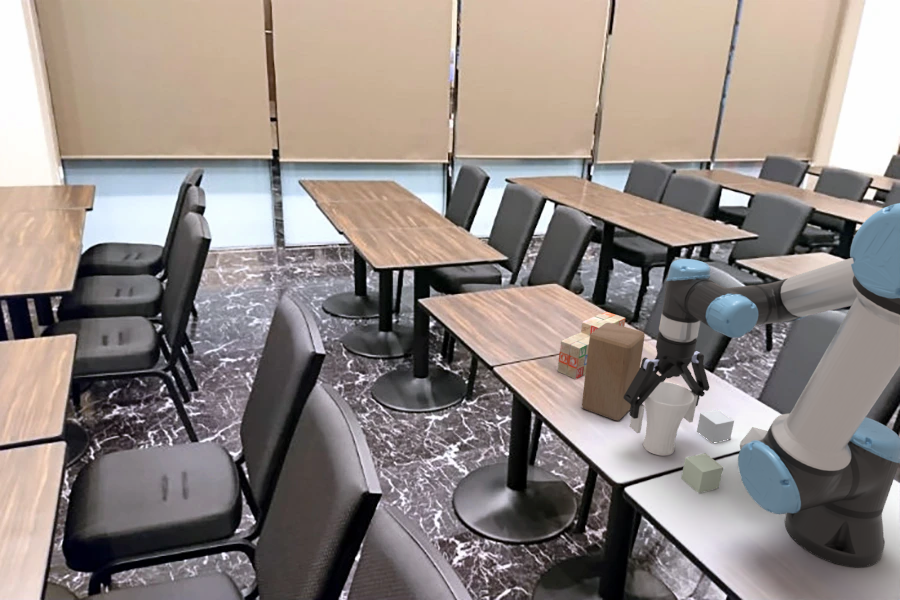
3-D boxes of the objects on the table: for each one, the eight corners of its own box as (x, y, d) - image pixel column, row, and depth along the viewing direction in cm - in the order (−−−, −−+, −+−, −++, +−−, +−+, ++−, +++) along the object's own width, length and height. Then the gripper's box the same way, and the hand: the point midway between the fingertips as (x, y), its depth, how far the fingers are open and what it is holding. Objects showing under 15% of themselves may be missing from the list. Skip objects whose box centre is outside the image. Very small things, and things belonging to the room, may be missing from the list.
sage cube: (718, 488, 125) (723, 467, 123) (698, 493, 123) (702, 472, 121) (701, 473, 129) (705, 453, 128) (681, 478, 128) (685, 457, 126)
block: (618, 423, 146) (630, 345, 139) (579, 409, 152) (588, 333, 145) (635, 406, 154) (646, 331, 147) (597, 393, 159) (606, 320, 152)
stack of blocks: (576, 380, 166) (580, 337, 162) (556, 372, 170) (561, 330, 166) (620, 357, 180) (626, 317, 175) (601, 349, 184) (606, 310, 180)
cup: (656, 466, 131) (665, 409, 126) (623, 439, 140) (631, 385, 135) (694, 455, 135) (705, 399, 130) (660, 430, 144) (669, 377, 139)
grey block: (760, 485, 127) (797, 453, 125) (726, 452, 130) (761, 420, 128) (761, 477, 135) (796, 447, 132) (729, 446, 138) (762, 416, 135)
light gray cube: (730, 440, 141) (734, 420, 140) (712, 443, 140) (716, 424, 138) (714, 428, 146) (717, 409, 144) (696, 432, 144) (700, 413, 142)
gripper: (713, 320, 135) (696, 406, 143) (614, 334, 127) (602, 424, 135) (739, 334, 129) (719, 423, 137) (637, 350, 121) (622, 444, 128)
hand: (661, 424), depth 136 cm, fingers open, 13 cm apart
